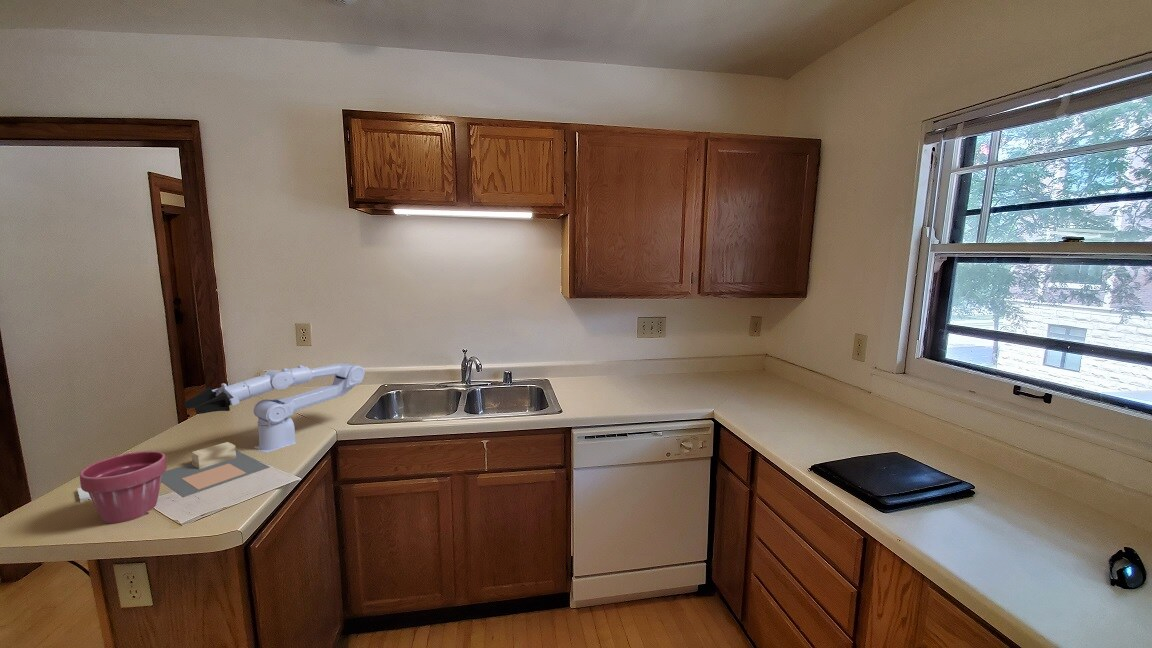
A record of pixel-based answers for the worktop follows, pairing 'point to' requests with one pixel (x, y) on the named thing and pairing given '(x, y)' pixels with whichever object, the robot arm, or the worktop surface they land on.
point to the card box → (213, 455)
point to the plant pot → (124, 484)
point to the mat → (209, 474)
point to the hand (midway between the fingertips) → (190, 408)
